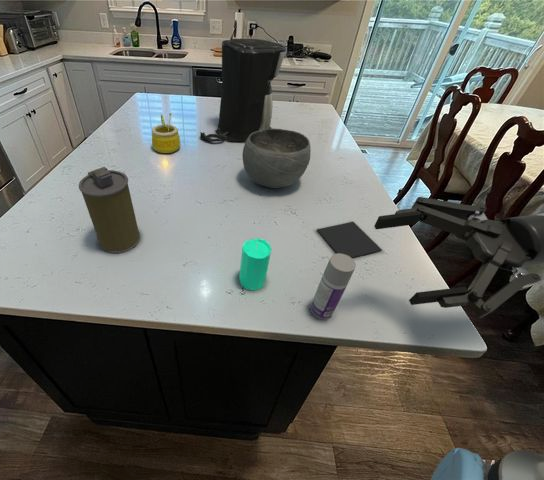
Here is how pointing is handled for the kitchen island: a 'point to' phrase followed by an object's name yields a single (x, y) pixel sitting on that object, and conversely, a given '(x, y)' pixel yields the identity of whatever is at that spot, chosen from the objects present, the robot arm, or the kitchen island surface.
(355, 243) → the mat
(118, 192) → the canister
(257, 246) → the candle
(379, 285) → the kitchen island surface
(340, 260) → the container
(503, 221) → the robot arm
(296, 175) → the bowl
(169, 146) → the mug
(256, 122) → the coffee maker
